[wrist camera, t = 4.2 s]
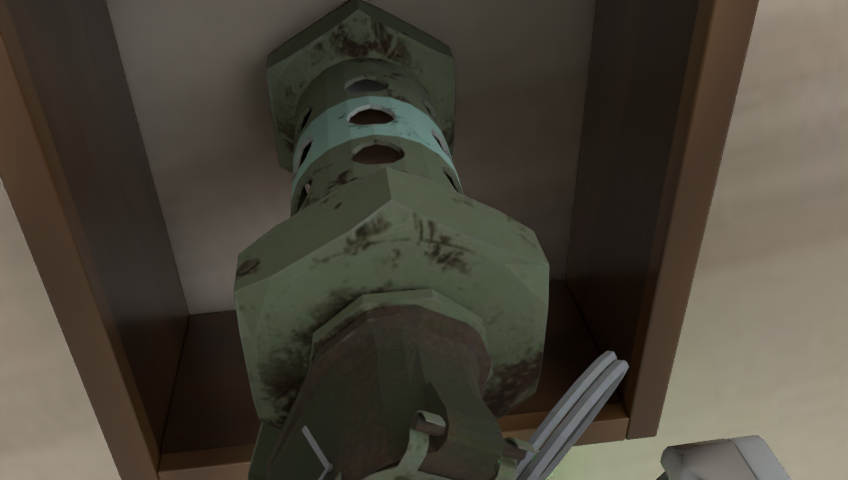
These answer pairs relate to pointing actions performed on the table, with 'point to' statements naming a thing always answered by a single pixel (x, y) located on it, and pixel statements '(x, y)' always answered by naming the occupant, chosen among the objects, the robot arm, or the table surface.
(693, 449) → the robot arm
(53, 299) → the wooden box
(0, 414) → the table surface
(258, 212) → the table surface
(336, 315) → the grenade
